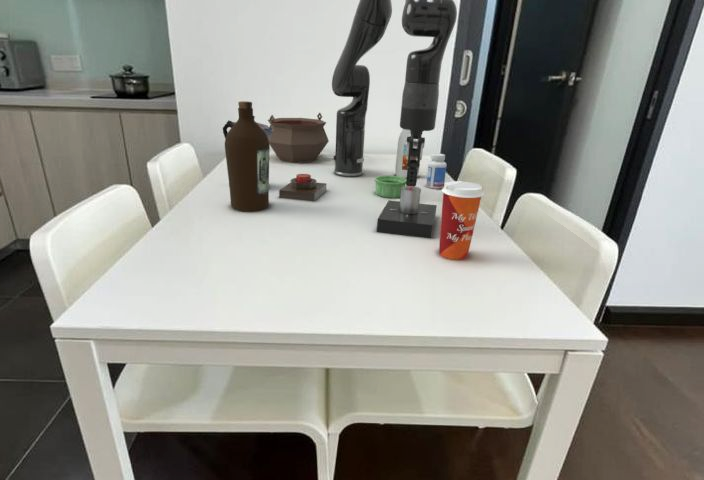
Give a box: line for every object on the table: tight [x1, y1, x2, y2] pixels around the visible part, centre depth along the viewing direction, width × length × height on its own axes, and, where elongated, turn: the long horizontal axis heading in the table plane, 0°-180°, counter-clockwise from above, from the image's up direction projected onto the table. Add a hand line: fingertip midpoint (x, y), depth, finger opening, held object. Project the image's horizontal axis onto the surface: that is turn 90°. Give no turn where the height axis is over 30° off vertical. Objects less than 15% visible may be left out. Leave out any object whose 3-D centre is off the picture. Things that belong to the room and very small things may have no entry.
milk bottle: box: [394, 129, 421, 179], centre depth 150 cm, size 8×8×20 cm
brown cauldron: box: [267, 112, 330, 164], centre depth 172 cm, size 24×24×16 cm
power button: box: [295, 173, 312, 182], centre depth 128 cm, size 4×4×2 cm
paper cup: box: [438, 180, 485, 261], centre depth 90 cm, size 8×8×14 cm
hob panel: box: [376, 199, 438, 239], centre depth 109 cm, size 16×12×3 cm
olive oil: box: [224, 100, 271, 212], centre depth 113 cm, size 11×11×25 cm
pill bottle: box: [425, 153, 447, 190], centre depth 141 cm, size 6×5×10 cm
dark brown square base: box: [278, 177, 327, 202], centre depth 129 cm, size 12×10×4 cm
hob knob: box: [399, 185, 422, 214], centre depth 107 cm, size 4×4×6 cm
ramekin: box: [374, 175, 407, 199], centre depth 132 cm, size 9×9×4 cm
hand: (411, 181), depth 105 cm, fingers open, 8 cm apart
